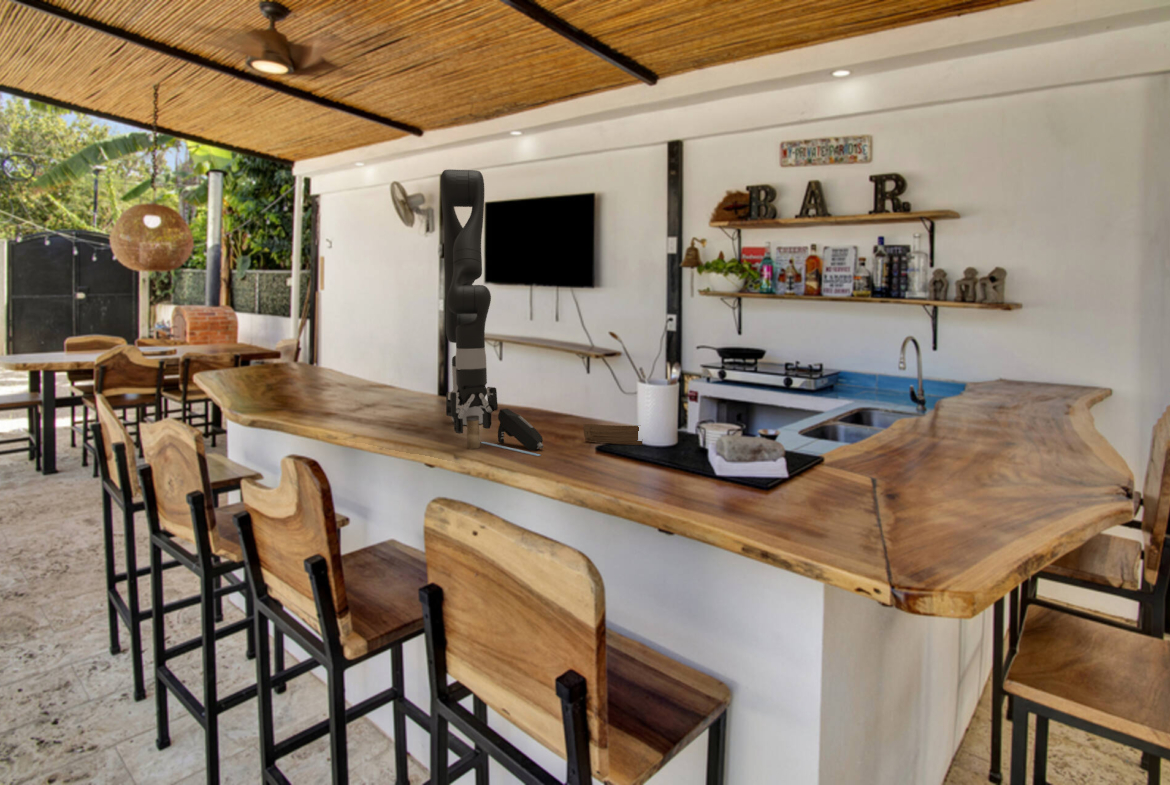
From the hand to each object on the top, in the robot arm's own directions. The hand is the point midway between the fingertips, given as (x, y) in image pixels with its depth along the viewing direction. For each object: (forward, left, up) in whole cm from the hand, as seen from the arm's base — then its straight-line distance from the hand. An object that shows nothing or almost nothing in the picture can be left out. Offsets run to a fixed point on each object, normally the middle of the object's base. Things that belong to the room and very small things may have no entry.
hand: (473, 430), depth 173 cm
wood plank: (+23, +27, -5) cm, 36 cm away
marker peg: (0, 0, -4) cm, 4 cm away
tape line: (+8, +5, -4) cm, 10 cm away
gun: (+8, +9, -5) cm, 13 cm away
